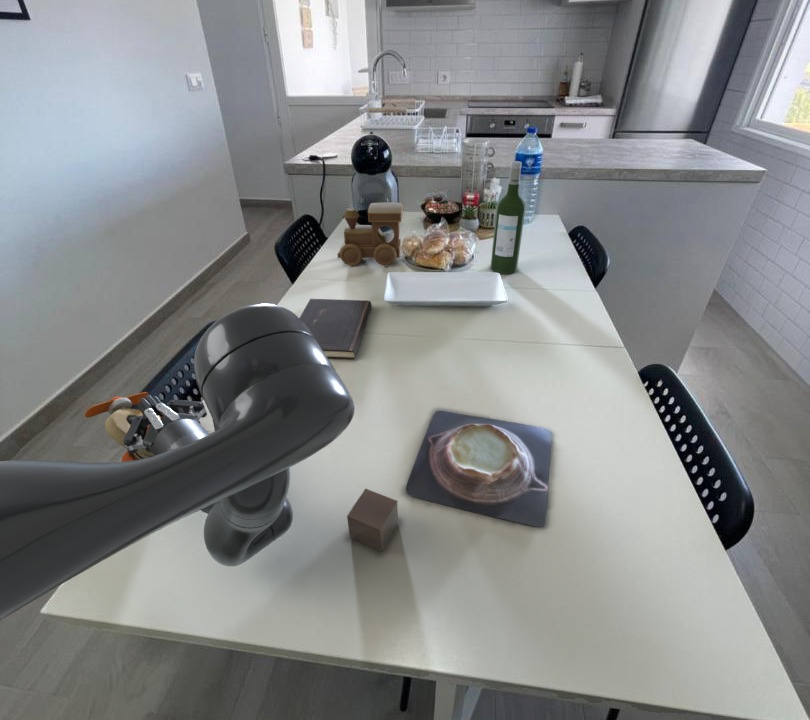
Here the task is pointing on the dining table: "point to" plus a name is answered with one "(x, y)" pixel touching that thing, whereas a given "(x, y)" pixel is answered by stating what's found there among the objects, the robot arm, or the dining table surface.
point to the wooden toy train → (372, 235)
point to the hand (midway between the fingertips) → (145, 401)
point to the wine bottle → (508, 226)
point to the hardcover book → (337, 325)
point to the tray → (444, 289)
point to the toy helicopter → (121, 420)
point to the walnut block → (373, 519)
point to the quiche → (484, 467)
